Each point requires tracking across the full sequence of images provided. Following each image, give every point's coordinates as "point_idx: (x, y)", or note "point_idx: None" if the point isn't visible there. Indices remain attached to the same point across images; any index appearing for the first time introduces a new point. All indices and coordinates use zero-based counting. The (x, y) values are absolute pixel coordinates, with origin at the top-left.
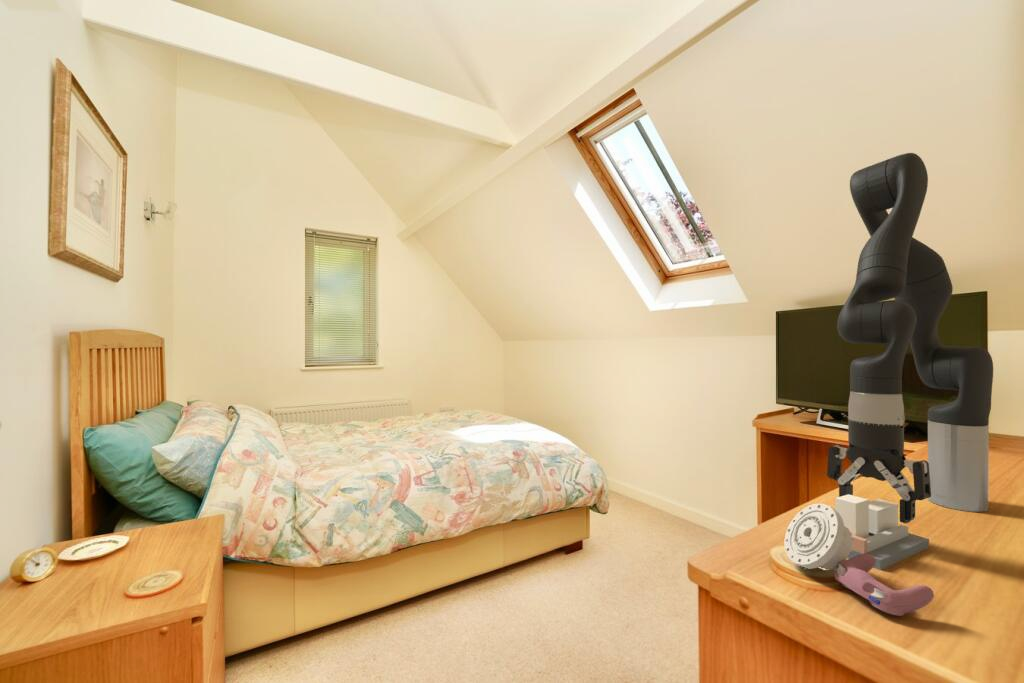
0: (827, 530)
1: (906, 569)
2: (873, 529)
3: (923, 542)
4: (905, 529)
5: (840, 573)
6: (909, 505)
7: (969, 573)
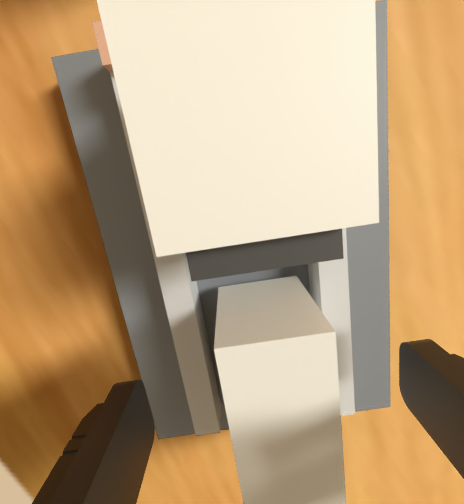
0: None
1: (64, 184)
2: (232, 291)
3: (150, 402)
4: (191, 411)
5: None
6: (44, 498)
7: (6, 342)
